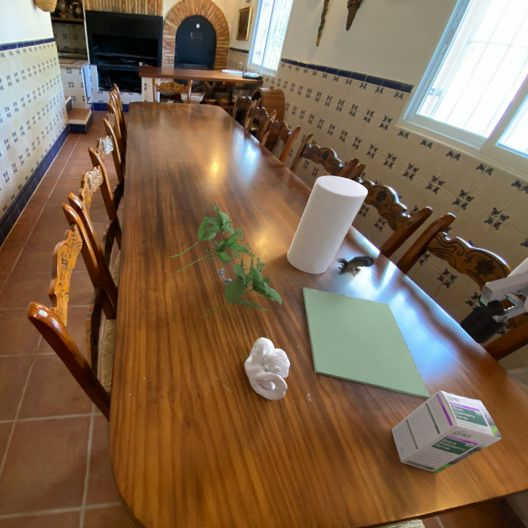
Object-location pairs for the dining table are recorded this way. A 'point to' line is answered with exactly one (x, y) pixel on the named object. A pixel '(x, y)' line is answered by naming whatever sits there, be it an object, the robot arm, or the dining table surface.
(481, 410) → the syrup box
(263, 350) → the baby figurine
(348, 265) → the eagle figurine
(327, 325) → the felt mat
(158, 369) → the dining table surface
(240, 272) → the plant cuttings
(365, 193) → the cylinder
